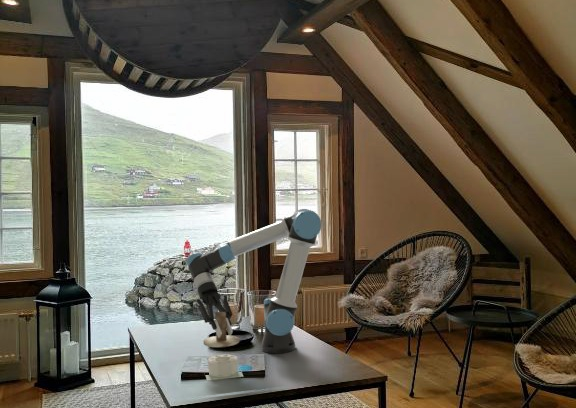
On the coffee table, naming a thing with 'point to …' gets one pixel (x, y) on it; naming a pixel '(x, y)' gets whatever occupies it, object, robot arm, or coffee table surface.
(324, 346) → the coffee table surface
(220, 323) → the lid
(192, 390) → the coffee table surface
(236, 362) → the bowl
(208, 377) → the mat
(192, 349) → the coffee table surface
